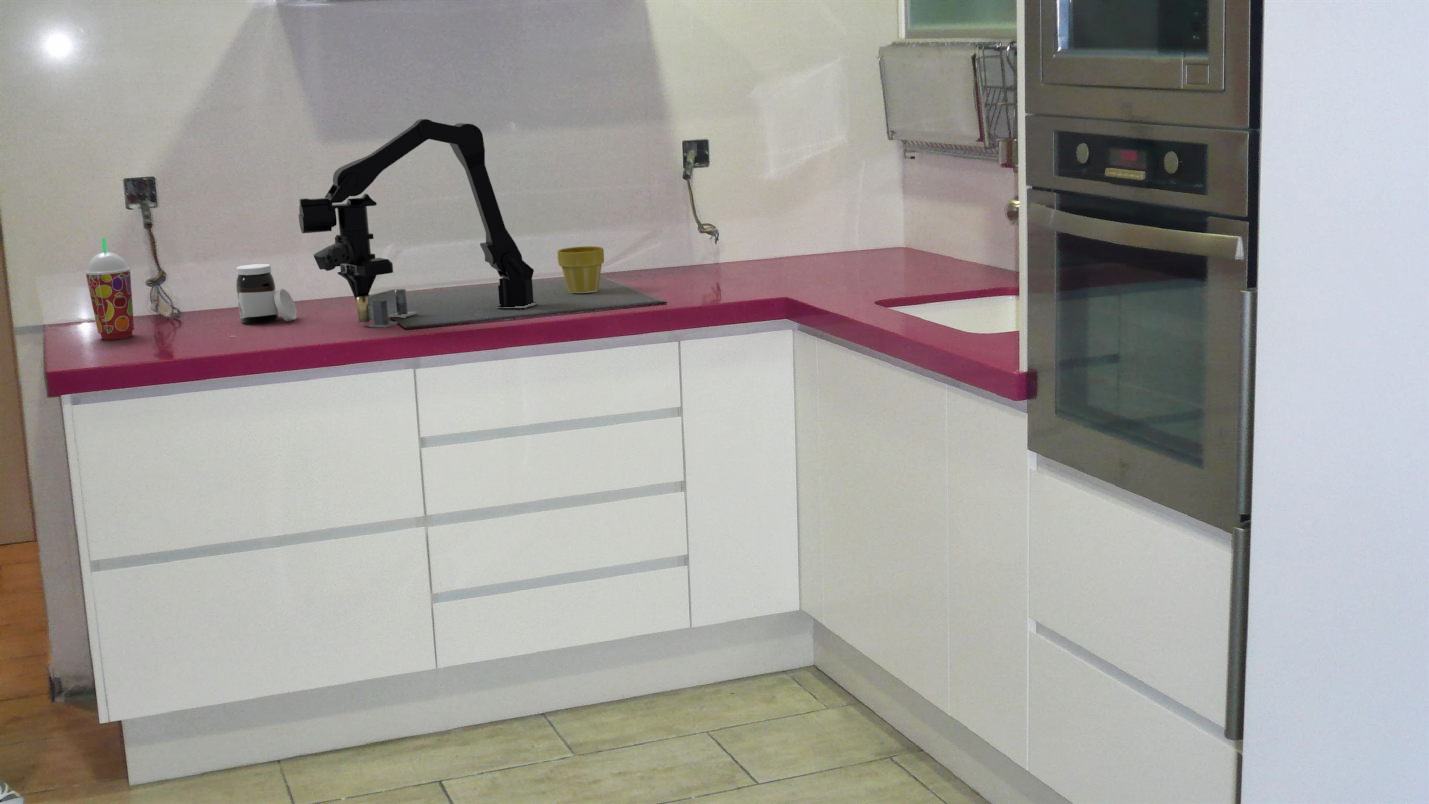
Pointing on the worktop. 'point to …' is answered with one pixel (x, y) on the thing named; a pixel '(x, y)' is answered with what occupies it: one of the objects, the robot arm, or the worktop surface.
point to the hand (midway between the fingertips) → (361, 305)
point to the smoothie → (111, 294)
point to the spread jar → (261, 296)
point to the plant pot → (581, 267)
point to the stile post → (381, 315)
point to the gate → (367, 307)
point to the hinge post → (401, 302)
